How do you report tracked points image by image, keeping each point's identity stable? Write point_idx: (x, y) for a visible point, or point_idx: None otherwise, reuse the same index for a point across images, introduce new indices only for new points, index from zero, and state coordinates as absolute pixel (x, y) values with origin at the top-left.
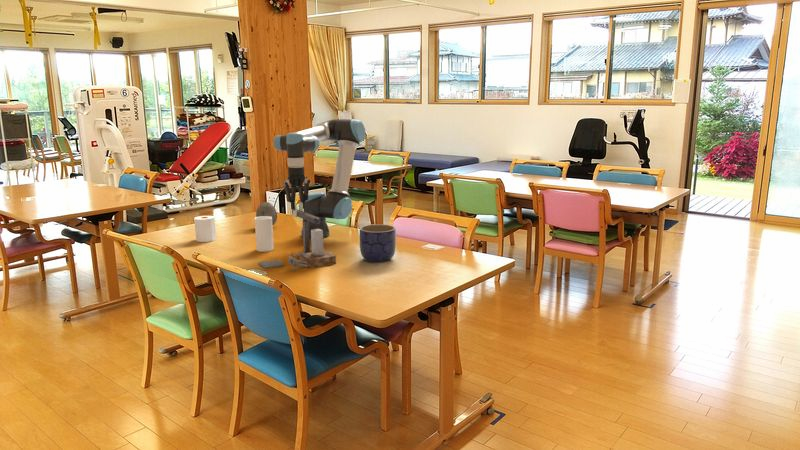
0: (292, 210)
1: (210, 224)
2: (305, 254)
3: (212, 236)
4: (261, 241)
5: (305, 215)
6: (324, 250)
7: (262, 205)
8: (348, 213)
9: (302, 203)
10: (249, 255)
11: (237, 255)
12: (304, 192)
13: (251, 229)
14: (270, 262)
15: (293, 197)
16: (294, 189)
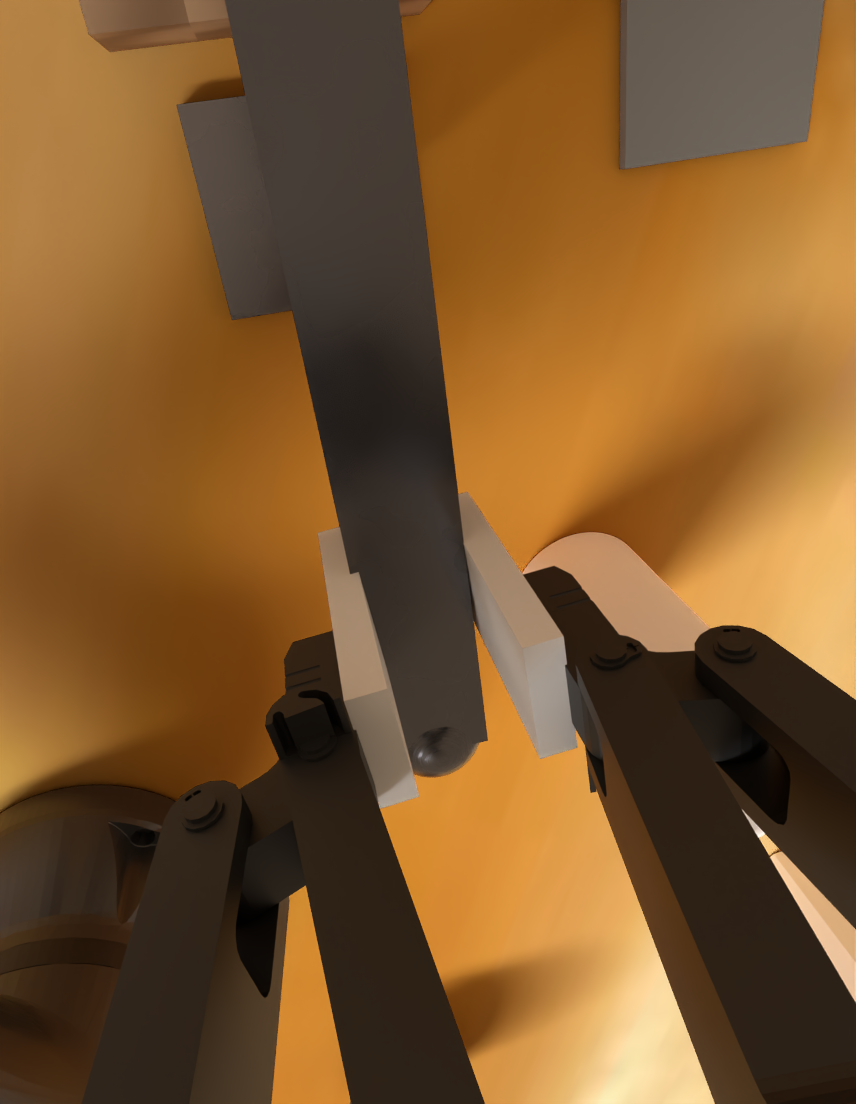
0: (482, 718)
1: (853, 952)
2: None
3: (788, 880)
4: (661, 580)
5: (397, 5)
6: (83, 2)
7: None
8: None
9: (348, 684)
10: (737, 465)
11: (803, 497)
12: (251, 1084)
13: (496, 1034)
14: (715, 84)
15: (690, 747)
16: (836, 1058)
